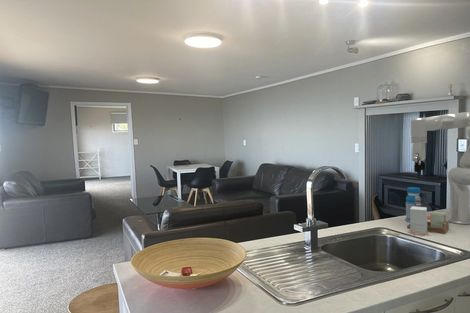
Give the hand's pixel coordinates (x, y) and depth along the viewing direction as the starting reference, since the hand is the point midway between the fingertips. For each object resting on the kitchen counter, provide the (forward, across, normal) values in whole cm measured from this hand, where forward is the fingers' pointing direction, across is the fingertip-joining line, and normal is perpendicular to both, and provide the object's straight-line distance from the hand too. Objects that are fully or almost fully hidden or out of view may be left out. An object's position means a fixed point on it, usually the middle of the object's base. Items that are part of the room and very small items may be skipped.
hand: (419, 171), depth 182 cm
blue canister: (+32, -9, -6) cm, 33 cm away
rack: (+31, +4, +4) cm, 32 cm away
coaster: (+31, +15, +2) cm, 34 cm away
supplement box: (+31, +14, +2) cm, 34 cm away
